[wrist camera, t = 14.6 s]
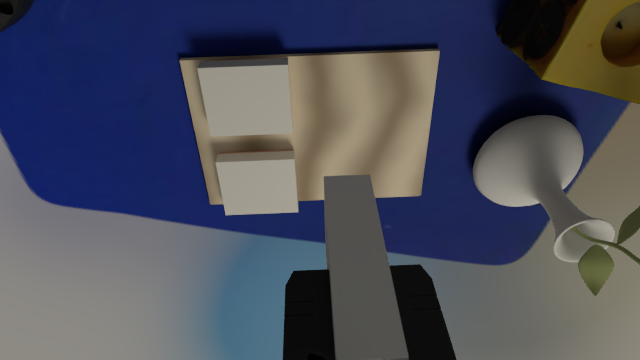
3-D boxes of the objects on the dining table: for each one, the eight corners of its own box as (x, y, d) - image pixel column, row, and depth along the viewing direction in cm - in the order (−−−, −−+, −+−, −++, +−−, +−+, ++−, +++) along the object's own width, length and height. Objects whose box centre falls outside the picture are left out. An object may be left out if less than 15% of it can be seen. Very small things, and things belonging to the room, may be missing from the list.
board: (211, 201, 52) (210, 204, 52) (180, 58, 42) (179, 60, 42) (419, 192, 52) (420, 195, 52) (438, 48, 42) (439, 50, 42)
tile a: (293, 123, 46) (213, 126, 46) (288, 56, 42) (201, 59, 42) (292, 133, 44) (210, 136, 44) (287, 64, 40) (197, 68, 40)
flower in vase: (526, 207, 54) (660, 418, 34) (447, 175, 51) (543, 388, 31) (609, 118, 48) (837, 317, 27) (524, 76, 44) (711, 264, 24)
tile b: (298, 200, 52) (228, 203, 52) (294, 148, 48) (218, 151, 48) (298, 212, 50) (225, 215, 50) (294, 159, 46) (215, 162, 46)
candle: (548, -88, 36) (619, -70, 28) (655, -54, 38) (750, -29, 30) (490, 36, 42) (535, 80, 34) (585, 60, 44) (650, 108, 36)
